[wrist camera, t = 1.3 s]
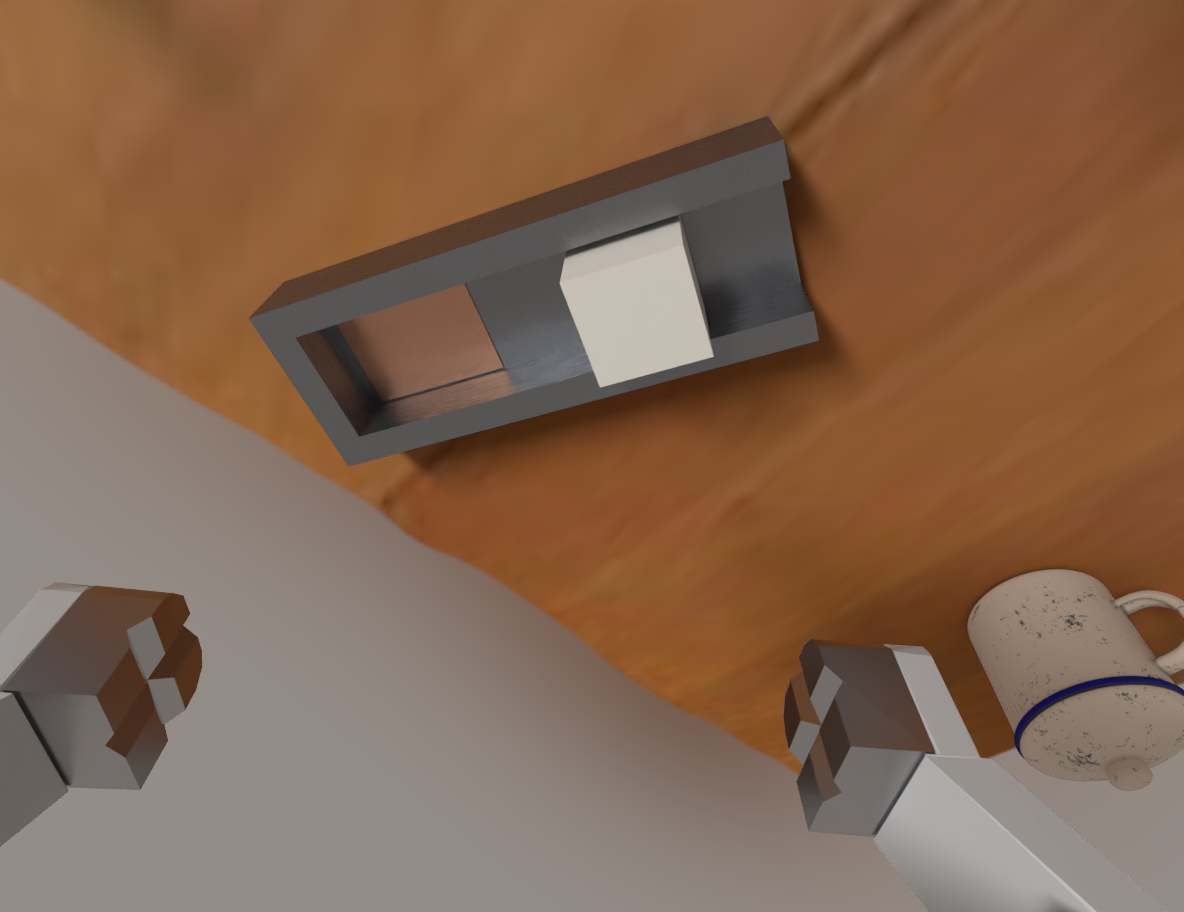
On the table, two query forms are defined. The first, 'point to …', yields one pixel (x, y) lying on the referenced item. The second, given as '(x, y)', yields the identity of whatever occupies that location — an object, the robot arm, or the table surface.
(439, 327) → the chute
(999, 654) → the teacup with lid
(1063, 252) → the table surface
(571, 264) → the block
